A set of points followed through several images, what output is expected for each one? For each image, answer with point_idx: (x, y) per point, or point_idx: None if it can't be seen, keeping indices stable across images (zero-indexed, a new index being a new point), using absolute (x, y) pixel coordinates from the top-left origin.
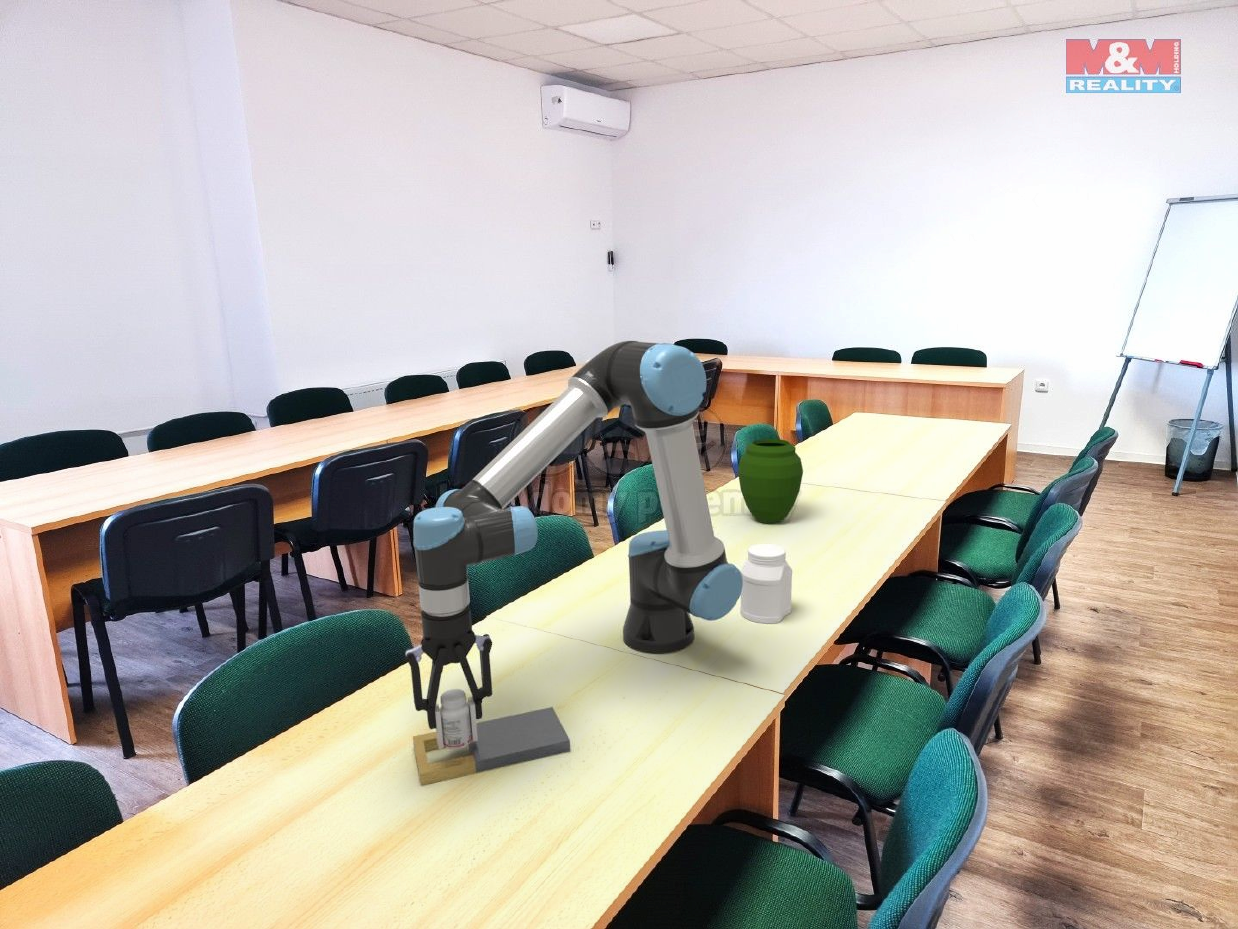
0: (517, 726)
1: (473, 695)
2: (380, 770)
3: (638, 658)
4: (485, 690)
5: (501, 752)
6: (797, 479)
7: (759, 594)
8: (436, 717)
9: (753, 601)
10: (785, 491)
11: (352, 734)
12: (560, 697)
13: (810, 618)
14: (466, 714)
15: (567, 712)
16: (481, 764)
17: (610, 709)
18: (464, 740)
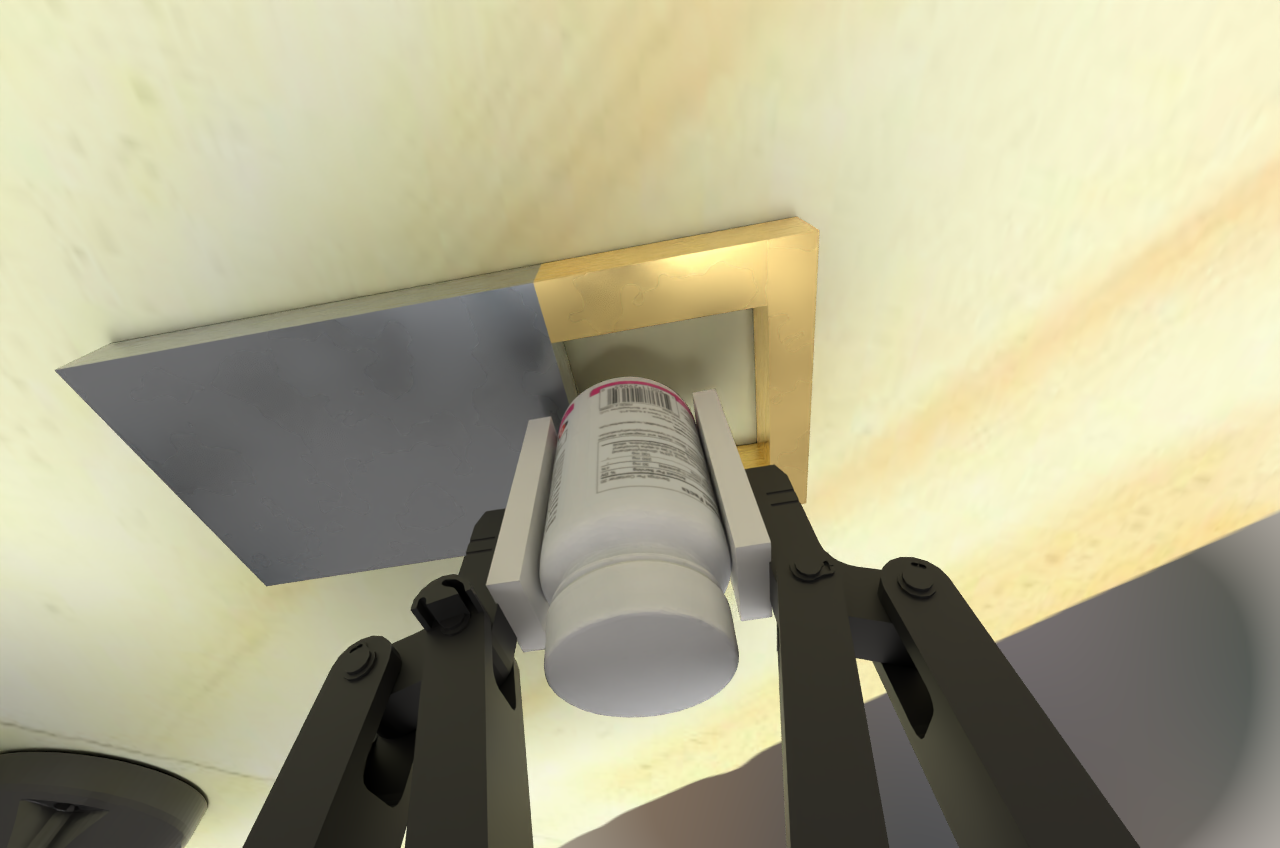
0: (377, 500)
1: (475, 657)
2: (934, 364)
3: (111, 739)
4: (368, 695)
5: (404, 334)
6: None
7: None
8: (756, 513)
9: None
10: None
11: (965, 556)
12: (302, 629)
13: None
14: (553, 522)
15: (244, 566)
16: (505, 280)
17: (70, 562)
18: (587, 406)
